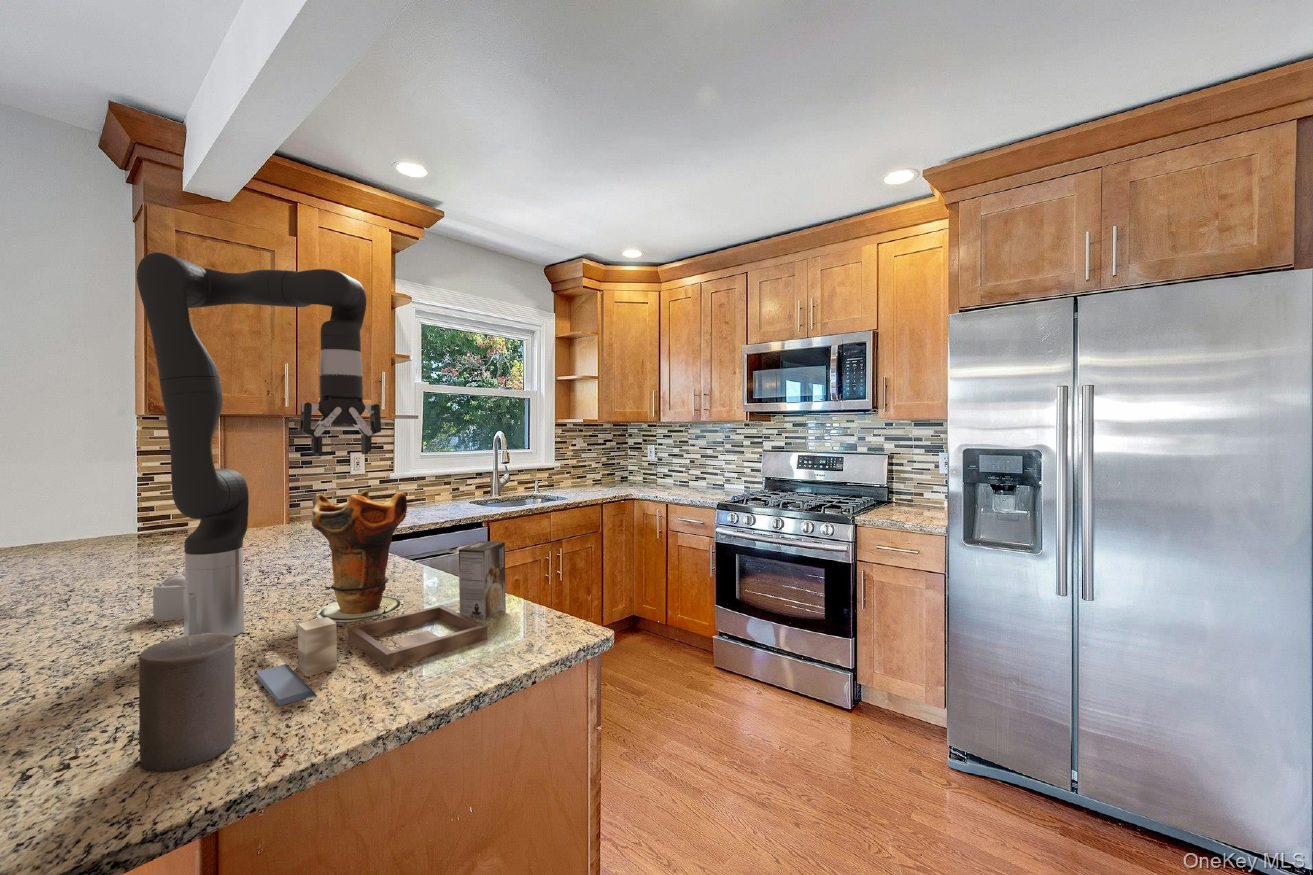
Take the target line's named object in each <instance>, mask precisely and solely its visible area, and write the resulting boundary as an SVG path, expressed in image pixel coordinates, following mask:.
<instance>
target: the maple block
mask: <svg viewBox="0 0 1313 875" xmlns="http://www.w3.org/2000/svg"><path fill="white" fill-rule="evenodd" d="M337 645H338V644H337V622H334V621H333V620H331V619H330V618H328V617H325V618H321V619H318V618H317V619H312V620H309V621H307V620H306V621H302V622H299V623H297V653H298V654H297V656H298V657H297V659H298V660H297V661H298V662H297V664H298V667H297V668H298V670H299V671H301V673H302V674H303V675H305V677H310V676H314V675H317V674H320V673H324V672H327V671H330V670H331V671H332V670H334V669H335V670H336V669H338V660H337V659H338V651H337V650H338V649H337V648H338V646H337Z"/></svg>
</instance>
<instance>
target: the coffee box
mask: <svg viewBox="0 0 1313 875" xmlns="http://www.w3.org/2000/svg"><path fill="white" fill-rule="evenodd" d="M458 578H459V579H458V580H459V581H458V584H459V585H458V586H459V587H458V588H459V591H458V592H459V593H458V594H459V596H458V597H459V598H458V599H459V613H460V614H462V615H465V616H467V617H469V618H471V619H478V620H479V619H480V620H487V619H488V618H490V617H492V616H494V615H495V614H496V613H498V612H499V611H501V612H504V613H506V610H507V609H506V608H507V606H506V604H507V603H506V601H507V600H506V599H507V598H506V596H507V595H506V541H486V540H485V541H484V540H483V541H482V540H479V541H478V542H477V541H476V542H475V543H472V544H469V545H467V546H465V547H462V548H460V549H459V548H458Z"/></svg>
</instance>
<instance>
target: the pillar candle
mask: <svg viewBox="0 0 1313 875" xmlns="http://www.w3.org/2000/svg"><path fill="white" fill-rule="evenodd" d="M138 658H139V661H138V662H139V663H138V676H139V678H138V711H139V719H138V720H139V721H138V723H139V725H138V727H139V730H138V731H139V735H138V738H139V740H138V745H139V761H138V766H139V768H140V769H141V770H142V771H144V772H147V773H165V772H167V773H168V772H173V771H178V770H182V769H186V768H187V769H188V768H191V767H195V766H197V765H200V764H202V763H205V762H207V761H209V760H212V759H213V758H215V757H217V756H219V755H221V754H222V753H224V752H225V751H226V750H229V748H230V747H231V746H232V745H233V743H234V742H235V740H236V739H235V738H236V737H235V735H236V730H235V729H236V677H235V676H236V660H235V659H236V636H232V635H228V634H221V633H203V634H196V635H190V636H184V635H183V636H181V637H175V638H171V639H167V640H164V641H161V642H158V643H156V644H153V645H151V646H149V647H147V648H145V649H144V650H142V651H141V652H140V654H139V657H138Z"/></svg>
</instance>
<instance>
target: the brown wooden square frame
mask: <svg viewBox="0 0 1313 875" xmlns="http://www.w3.org/2000/svg"><path fill="white" fill-rule="evenodd" d="M435 621H441V622H443V623H445V624H446V625H449V626H451V627H452V628H455V629H457V630H458V631H456V632H453V633H450V634H446V635H441V636H439V635H437V634H435V633H433V632H431V631H429V630H424V631H422V632H421V631H420V632H417V633H414V634H409V635H406V636H403V637H399V638H395V639H391V642H393V643H394V644H396V645H398V646H399V647H400V648H397V649H392V650H391V649H390V648H389V647H387V646H385V645H384V644H383V643H381V642H379V641H378V640H377V639H375V638H374V637H377V636H381V635H386V634H388V633H394V632H397V631H400V630H404V629H407V628H408V629H409V628H412V627H416V626H420V625H424V624H427V623H431V622H435ZM486 640H487V641H488V625H486V624H484V623H482V622H479V621H477V620H474V618H469V617H467V616H465V615H462V614H460V612H457V611H456V610H454V609H452V608H449V607H447V606H445V605H443V604H441V605H435V606H433V607H428V608H423V609H420V610H419V609H418V610H415V611H411V612H408V613H402V614H399V615H394V616H391V617H387V618H383V619H378V620H373V621H370V622H366V623H361V624H357V625H353V626H349V627H347V641H348V642H349V643H350V644H352V645H353V646H354V647H356V648H357V649H358V650H359V651H361V652H362V653H363V654H365V655H366V656H367V657H369V658H371V660H373V661H375V662H376V663H377V664H379V665H380V666H381V667H383V668H384V669H385V670H386V671H387V670H388V671H389V670H391V669H395V668H398V667H401V666H404V665H405V666H406V665H408V664H412V663H415V662H417V661H420V660H424V659H427V658H430V657H434V656H437V655H438V656H439V655H442V654H444V653H447V652H450V651H454V650H457V649H461V648H463V647H468V646H469V645H474V644H476V643H477V644H478V643H480V642H483V641H486Z"/></svg>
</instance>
